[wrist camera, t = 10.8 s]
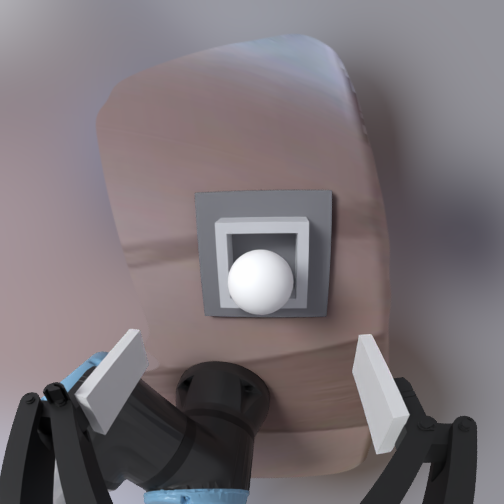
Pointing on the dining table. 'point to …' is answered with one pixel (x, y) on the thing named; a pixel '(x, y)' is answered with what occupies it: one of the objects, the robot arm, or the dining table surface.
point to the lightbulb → (260, 282)
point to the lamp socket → (265, 244)
